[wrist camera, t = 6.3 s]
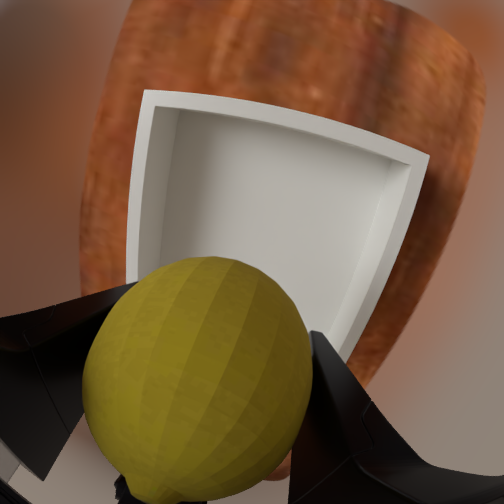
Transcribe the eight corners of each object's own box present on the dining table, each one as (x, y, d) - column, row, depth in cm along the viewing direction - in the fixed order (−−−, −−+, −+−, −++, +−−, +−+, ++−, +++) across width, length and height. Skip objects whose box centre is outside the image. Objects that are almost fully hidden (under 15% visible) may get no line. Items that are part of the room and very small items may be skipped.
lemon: (152, 313, 12) (44, 462, 4) (193, 195, 9) (-16, 336, 2) (268, 368, 12) (232, 546, 4) (339, 267, 10) (384, 509, 2)
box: (332, 340, 20) (336, 379, 16) (152, 292, 21) (127, 321, 17) (402, 151, 15) (429, 155, 11) (176, 97, 15) (144, 89, 12)
